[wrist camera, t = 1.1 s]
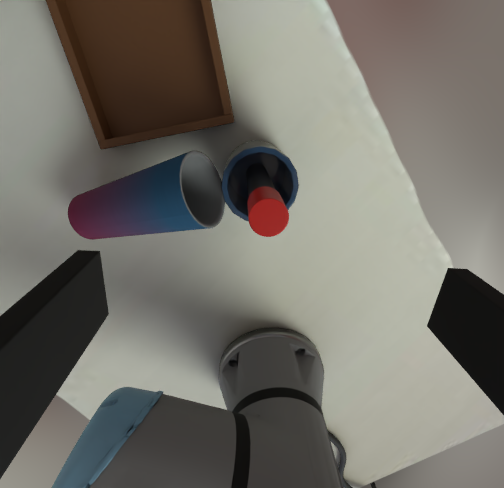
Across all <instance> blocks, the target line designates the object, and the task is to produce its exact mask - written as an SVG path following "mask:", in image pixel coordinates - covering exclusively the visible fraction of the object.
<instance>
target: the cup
mask: <svg viewBox="0 0 504 488" xmlns="http://www.w3.org/2000/svg"><path fill="white" fill-rule="evenodd" d="M221 185H222V181H221V178H220V176H219V173H218V171H217V169H216V167H215V166H214V164H213V163H212V161H211V160H210V159H209V158H208V157H207V156H206V155H205V154H203V153H202V152H199V151H190V152H188V153H185V154H183V155H180V156H177V157H175V158H172V159H170V160H167V161H165V162H162V163H159V164H157V165H154V166H152V167H149V168H147V169H144V170H141V171H139V172H136V173H134V174H131V175H129V176H126V177H123V178H121V179H118V180H116V181H113V182H111V183H108V184H105V185H103V186H100V187H98V188H95V189H93V190H90V191H87V192H85V193H82V194H80V195H77V196H76V197H74V198H73V200H72V201H71V202H70V204H69V208H68V218H69V221H70V224H71V226H72V227H73V229H74V230H75V231H76V232H77V233H78V234H79V235H81V236H82V237H84V238H87V239H102V238H112V237H123V236H133V235H143V234H154V233H164V232H174V231H185V230H195V229H206V228H213V227H215V226H216V225H218V224H219V222H220V221H221V219H222V216H223V213H224V206H225V200H224V196H223V192H222V186H221Z"/></svg>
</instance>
